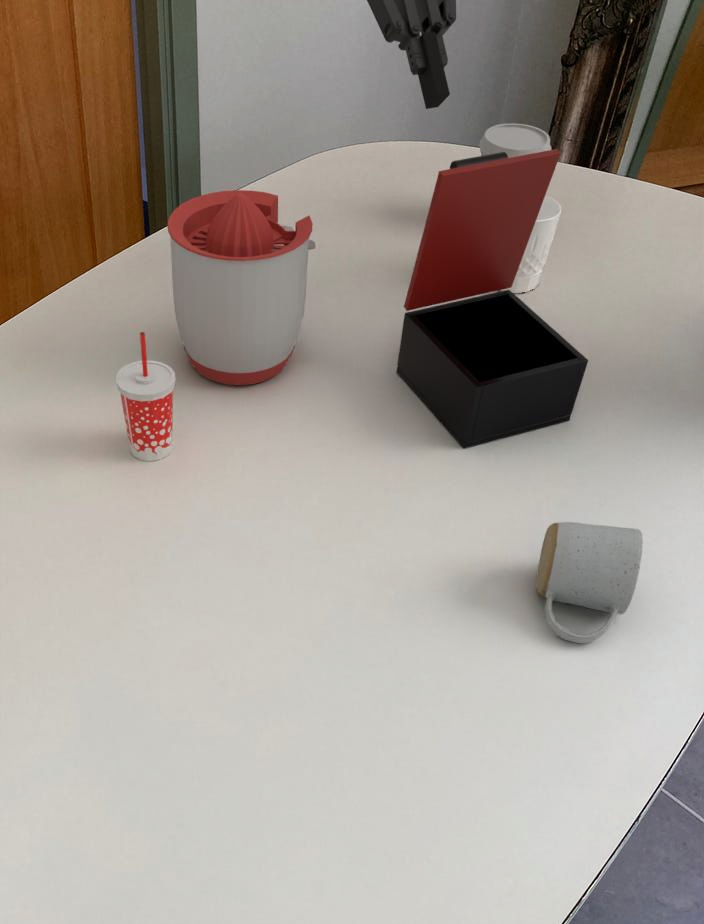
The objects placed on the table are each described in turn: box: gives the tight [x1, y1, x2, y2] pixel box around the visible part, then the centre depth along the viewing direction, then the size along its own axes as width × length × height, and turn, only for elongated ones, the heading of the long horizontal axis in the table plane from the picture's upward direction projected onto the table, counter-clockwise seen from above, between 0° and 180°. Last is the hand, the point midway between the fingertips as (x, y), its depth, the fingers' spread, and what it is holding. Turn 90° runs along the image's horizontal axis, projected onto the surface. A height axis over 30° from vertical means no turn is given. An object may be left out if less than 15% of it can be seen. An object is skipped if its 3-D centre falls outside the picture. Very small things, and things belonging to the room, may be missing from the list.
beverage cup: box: [115, 331, 176, 462], centre depth 102 cm, size 6×6×14 cm
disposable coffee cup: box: [478, 122, 552, 158], centre depth 136 cm, size 10×10×12 cm
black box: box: [395, 290, 589, 449], centre depth 111 cm, size 16×14×8 cm
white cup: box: [500, 195, 562, 294], centre depth 127 cm, size 8×8×10 cm
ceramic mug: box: [535, 521, 644, 644], centre depth 89 cm, size 11×8×8 cm
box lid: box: [403, 148, 561, 312], centre depth 106 cm, size 16×14×4 cm
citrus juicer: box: [166, 189, 316, 387], centre depth 112 cm, size 16×17×20 cm
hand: (437, 101), depth 105 cm, fingers closed
